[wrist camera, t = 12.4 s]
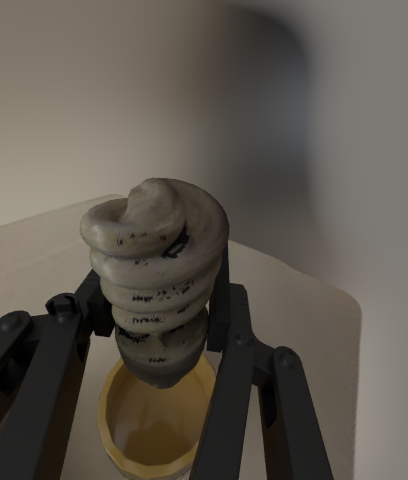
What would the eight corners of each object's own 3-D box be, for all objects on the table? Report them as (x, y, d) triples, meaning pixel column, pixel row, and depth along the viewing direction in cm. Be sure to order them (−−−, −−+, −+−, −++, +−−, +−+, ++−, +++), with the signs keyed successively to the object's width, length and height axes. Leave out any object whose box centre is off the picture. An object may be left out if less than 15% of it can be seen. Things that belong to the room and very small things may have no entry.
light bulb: (139, 445, 13) (98, 242, 4) (109, 365, 16) (55, 164, 8) (212, 385, 16) (270, 198, 8) (174, 329, 19) (185, 156, 11)
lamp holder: (233, 409, 22) (242, 393, 20) (145, 532, 15) (144, 529, 13) (169, 338, 27) (171, 319, 25) (84, 407, 21) (75, 389, 18)
